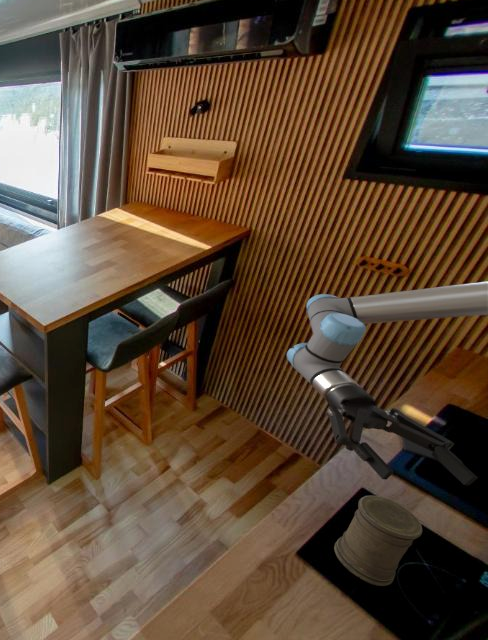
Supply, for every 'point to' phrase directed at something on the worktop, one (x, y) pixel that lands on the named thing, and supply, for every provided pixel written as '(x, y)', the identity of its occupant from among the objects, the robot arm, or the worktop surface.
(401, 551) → the container
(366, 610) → the worktop surface
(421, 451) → the base pad
